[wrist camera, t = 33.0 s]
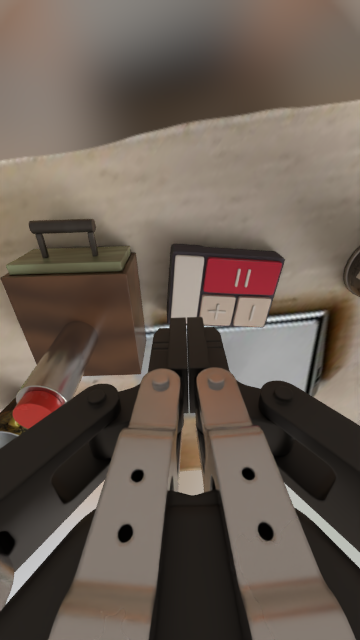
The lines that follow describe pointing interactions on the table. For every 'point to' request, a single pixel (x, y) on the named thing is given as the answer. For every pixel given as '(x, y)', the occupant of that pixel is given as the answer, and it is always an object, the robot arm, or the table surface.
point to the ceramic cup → (9, 425)
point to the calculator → (222, 285)
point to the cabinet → (84, 314)
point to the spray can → (56, 374)
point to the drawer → (69, 252)
